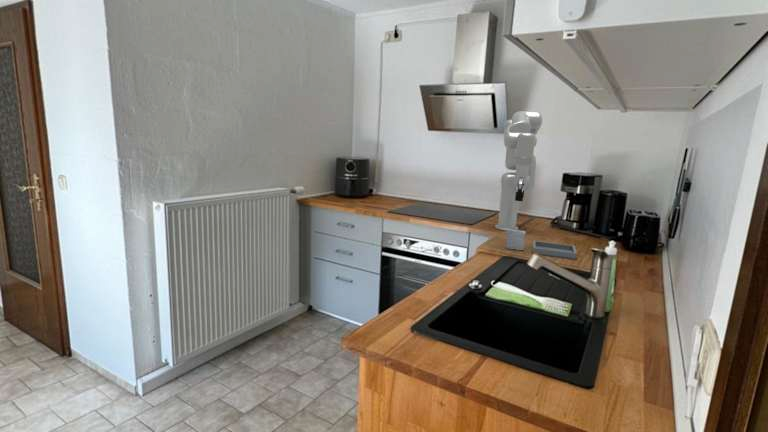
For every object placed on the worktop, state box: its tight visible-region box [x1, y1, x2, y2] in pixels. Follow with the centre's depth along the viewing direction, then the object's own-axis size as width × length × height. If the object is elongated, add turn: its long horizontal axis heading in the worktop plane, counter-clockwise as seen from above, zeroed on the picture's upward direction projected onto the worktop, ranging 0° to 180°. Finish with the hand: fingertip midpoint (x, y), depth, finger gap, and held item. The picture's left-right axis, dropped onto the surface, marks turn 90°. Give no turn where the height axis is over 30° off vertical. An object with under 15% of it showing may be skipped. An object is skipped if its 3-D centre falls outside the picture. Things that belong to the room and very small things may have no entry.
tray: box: [532, 240, 578, 260], centre depth 187 cm, size 14×18×3 cm
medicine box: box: [504, 229, 527, 251], centre depth 190 cm, size 8×4×9 cm, turn 65°
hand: (519, 199), depth 186 cm, fingers open, 9 cm apart
